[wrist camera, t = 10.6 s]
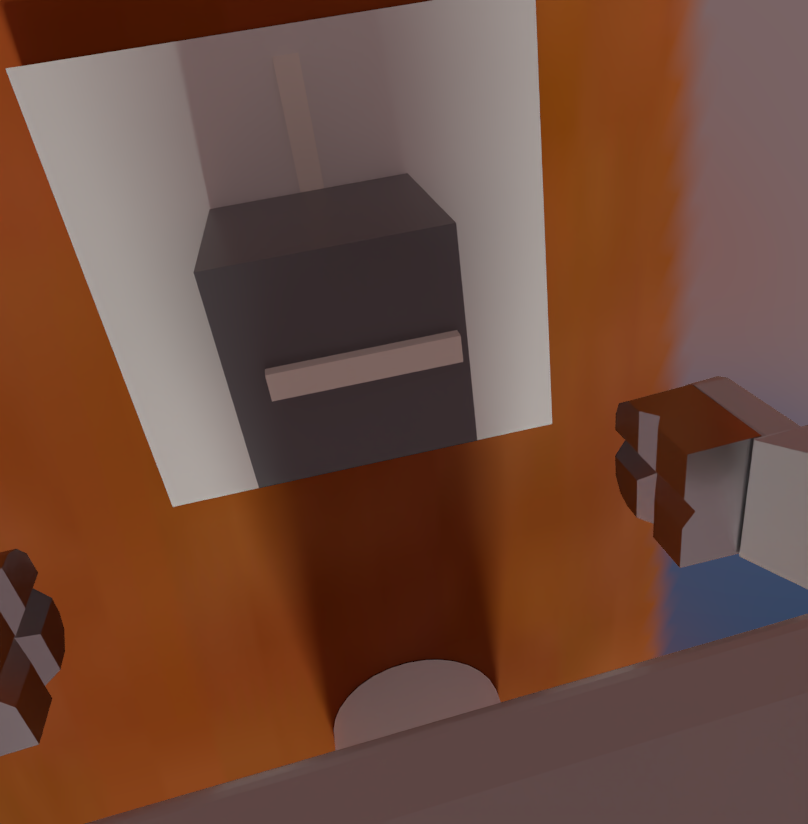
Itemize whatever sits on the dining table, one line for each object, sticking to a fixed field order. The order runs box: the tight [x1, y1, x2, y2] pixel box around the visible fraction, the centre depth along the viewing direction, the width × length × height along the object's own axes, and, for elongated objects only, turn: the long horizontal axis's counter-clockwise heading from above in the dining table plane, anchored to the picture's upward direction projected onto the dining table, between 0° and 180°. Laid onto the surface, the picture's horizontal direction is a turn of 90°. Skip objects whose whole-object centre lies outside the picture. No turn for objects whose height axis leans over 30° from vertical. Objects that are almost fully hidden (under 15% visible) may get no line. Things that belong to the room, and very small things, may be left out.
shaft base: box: [6, 0, 552, 507], centre depth 18 cm, size 12×12×5 cm
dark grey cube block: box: [193, 173, 477, 488], centre depth 16 cm, size 5×5×5 cm
